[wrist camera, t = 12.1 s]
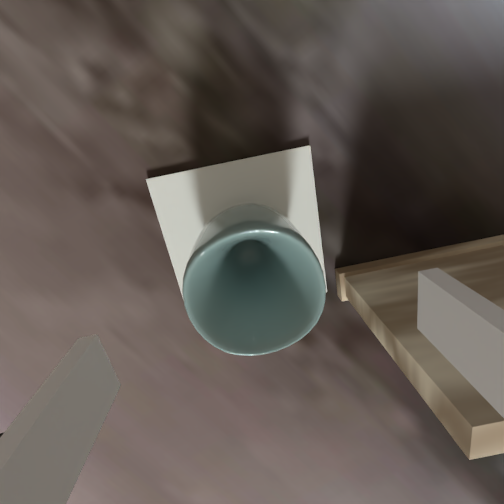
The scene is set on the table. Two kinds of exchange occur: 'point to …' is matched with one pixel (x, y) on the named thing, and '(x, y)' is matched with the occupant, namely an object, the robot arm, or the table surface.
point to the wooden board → (417, 345)
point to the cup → (252, 281)
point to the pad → (236, 198)
